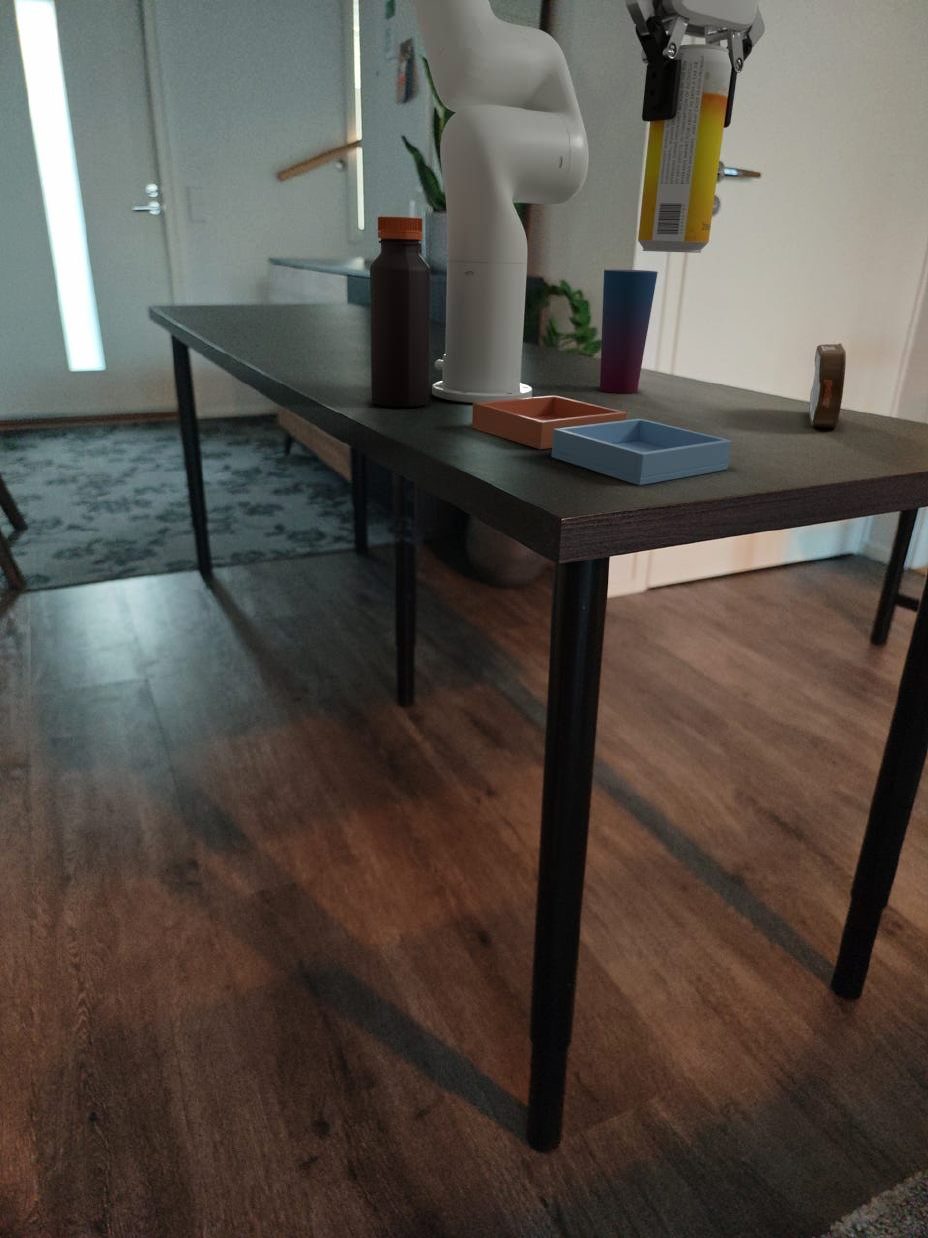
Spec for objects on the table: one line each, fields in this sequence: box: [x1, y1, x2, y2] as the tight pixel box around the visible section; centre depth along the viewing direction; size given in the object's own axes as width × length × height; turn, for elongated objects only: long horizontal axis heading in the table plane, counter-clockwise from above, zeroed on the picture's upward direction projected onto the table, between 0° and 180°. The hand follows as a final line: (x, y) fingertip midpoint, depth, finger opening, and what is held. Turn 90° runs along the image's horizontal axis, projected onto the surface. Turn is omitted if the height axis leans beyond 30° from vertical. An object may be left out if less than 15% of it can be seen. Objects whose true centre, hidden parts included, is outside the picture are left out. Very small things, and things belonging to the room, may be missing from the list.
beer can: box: [637, 43, 732, 254], centre depth 72 cm, size 6×6×15 cm
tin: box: [808, 342, 847, 430], centre depth 97 cm, size 15×3×8 cm, turn 161°
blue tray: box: [550, 418, 733, 486], centre depth 77 cm, size 11×11×3 cm
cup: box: [599, 268, 659, 394], centre depth 112 cm, size 7×7×15 cm
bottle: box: [369, 216, 432, 409], centre depth 97 cm, size 7×7×20 cm
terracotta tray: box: [471, 394, 628, 451], centre depth 88 cm, size 11×11×3 cm
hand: (686, 121), depth 71 cm, fingers closed on beer can, 6 cm apart
